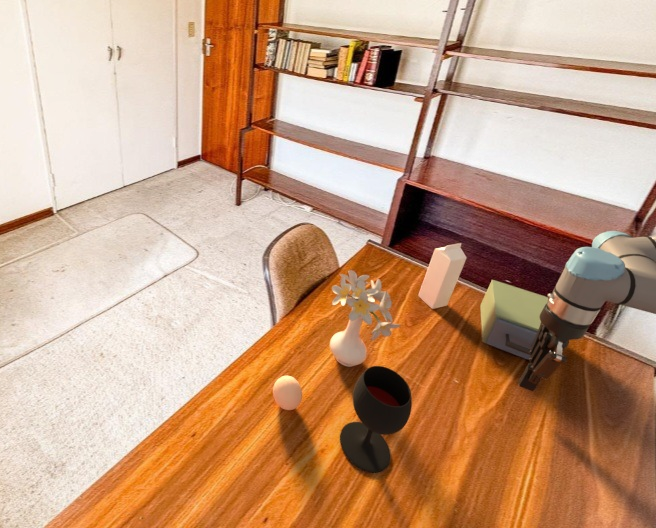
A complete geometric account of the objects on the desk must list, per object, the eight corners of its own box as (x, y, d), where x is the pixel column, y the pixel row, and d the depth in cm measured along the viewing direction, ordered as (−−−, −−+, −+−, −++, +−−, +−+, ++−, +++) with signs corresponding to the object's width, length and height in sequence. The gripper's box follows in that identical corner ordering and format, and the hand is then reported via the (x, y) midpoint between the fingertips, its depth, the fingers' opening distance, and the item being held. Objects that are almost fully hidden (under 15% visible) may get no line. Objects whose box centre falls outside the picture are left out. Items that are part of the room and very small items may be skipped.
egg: (285, 422, 89) (289, 400, 86) (265, 398, 94) (269, 376, 91) (305, 407, 92) (310, 385, 89) (285, 385, 97) (289, 363, 94)
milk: (447, 305, 124) (471, 249, 114) (431, 309, 122) (455, 252, 113) (432, 292, 129) (453, 237, 120) (417, 295, 128) (438, 239, 118)
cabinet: (542, 364, 105) (559, 336, 101) (482, 341, 112) (495, 314, 107) (533, 324, 118) (548, 297, 114) (480, 305, 125) (492, 279, 120)
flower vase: (355, 398, 95) (379, 322, 84) (307, 339, 110) (322, 269, 99) (394, 378, 100) (421, 305, 89) (342, 325, 115) (361, 257, 104)
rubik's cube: (502, 336, 111) (509, 322, 109) (498, 323, 116) (505, 309, 113) (526, 344, 109) (534, 329, 107) (520, 329, 114) (528, 315, 111)
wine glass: (358, 480, 79) (381, 418, 71) (330, 428, 88) (347, 368, 80) (401, 466, 82) (429, 404, 73) (369, 417, 91) (390, 357, 82)
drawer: (543, 377, 101) (558, 353, 97) (486, 354, 107) (498, 331, 103) (533, 326, 117) (545, 303, 113) (483, 308, 122) (493, 286, 118)
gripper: (541, 288, 91) (504, 359, 101) (550, 325, 81) (509, 400, 91) (583, 301, 88) (541, 373, 98) (598, 342, 78) (550, 417, 88)
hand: (525, 386), depth 94 cm, fingers closed
